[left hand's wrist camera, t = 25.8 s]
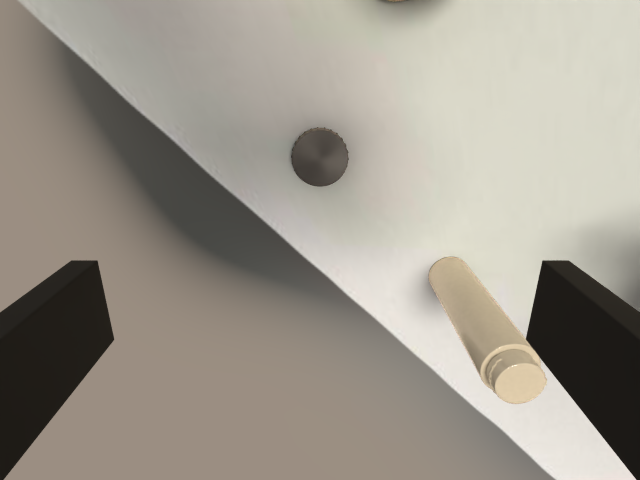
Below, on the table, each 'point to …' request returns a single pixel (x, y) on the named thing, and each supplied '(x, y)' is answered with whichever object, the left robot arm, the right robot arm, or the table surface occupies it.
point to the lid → (319, 157)
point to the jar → (487, 333)
